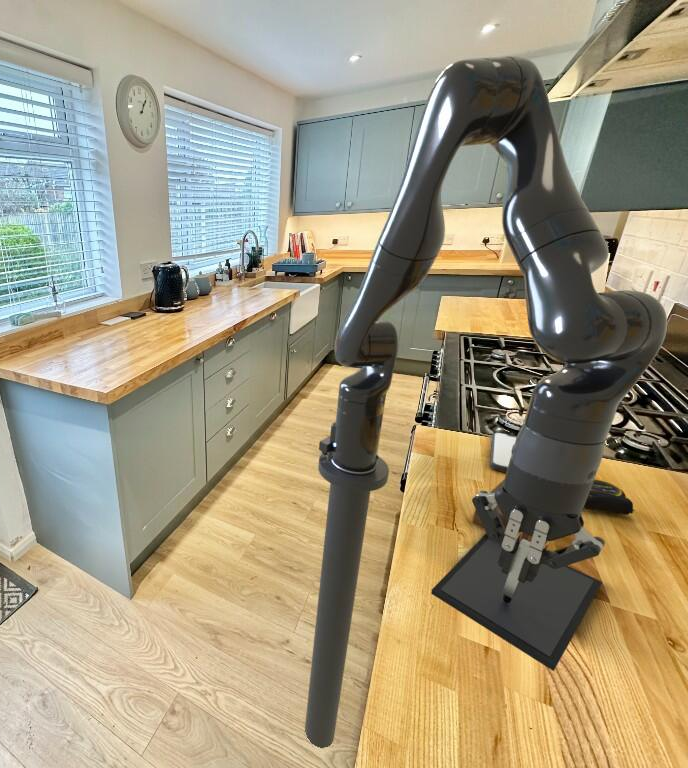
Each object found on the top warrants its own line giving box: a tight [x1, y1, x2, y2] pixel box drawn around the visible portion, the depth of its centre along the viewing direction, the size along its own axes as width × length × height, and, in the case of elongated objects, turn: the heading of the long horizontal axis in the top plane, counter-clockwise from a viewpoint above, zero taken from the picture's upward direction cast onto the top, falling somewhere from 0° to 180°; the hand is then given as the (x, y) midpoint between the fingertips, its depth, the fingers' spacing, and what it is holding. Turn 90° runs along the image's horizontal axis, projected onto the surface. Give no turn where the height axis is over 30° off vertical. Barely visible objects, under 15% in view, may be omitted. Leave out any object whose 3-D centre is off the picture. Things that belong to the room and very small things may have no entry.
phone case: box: [489, 432, 517, 474], centre depth 91 cm, size 9×2×16 cm
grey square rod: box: [502, 539, 531, 603], centre depth 56 cm, size 1×1×10 cm
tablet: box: [430, 532, 603, 672], centre depth 60 cm, size 14×20×1 cm
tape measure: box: [583, 478, 635, 516], centre depth 75 cm, size 7×7×4 cm
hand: (514, 574), depth 55 cm, fingers closed on grey square rod, 1 cm apart
